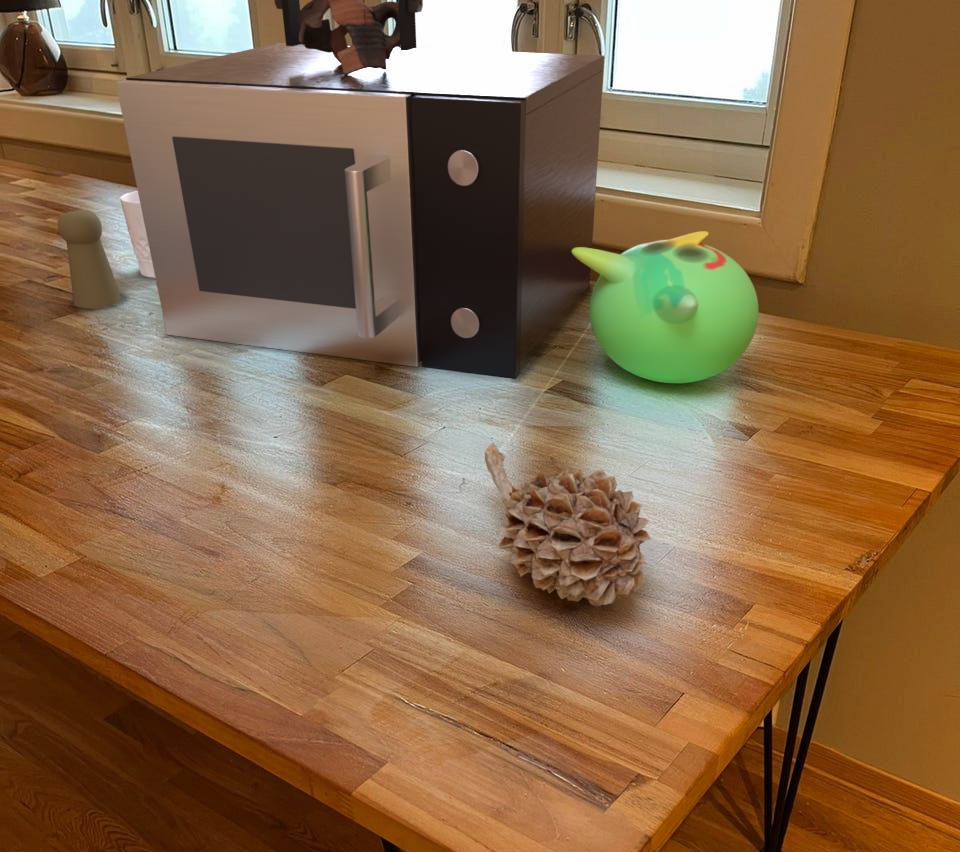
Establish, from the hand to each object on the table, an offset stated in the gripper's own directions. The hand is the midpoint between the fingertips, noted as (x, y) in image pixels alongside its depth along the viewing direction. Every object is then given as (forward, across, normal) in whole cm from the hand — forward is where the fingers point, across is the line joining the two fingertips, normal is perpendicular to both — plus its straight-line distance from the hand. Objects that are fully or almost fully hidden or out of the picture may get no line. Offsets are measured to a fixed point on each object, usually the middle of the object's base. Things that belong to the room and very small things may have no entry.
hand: (350, 47), depth 105 cm
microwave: (+29, -2, -2) cm, 29 cm away
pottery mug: (+2, 0, 0) cm, 2 cm away
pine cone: (+29, -37, +50) cm, 69 cm away
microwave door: (+29, +4, +18) cm, 34 cm away
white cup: (+29, +35, -7) cm, 46 cm away
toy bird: (+29, -39, +9) cm, 50 cm away
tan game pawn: (+29, +36, +7) cm, 47 cm away
